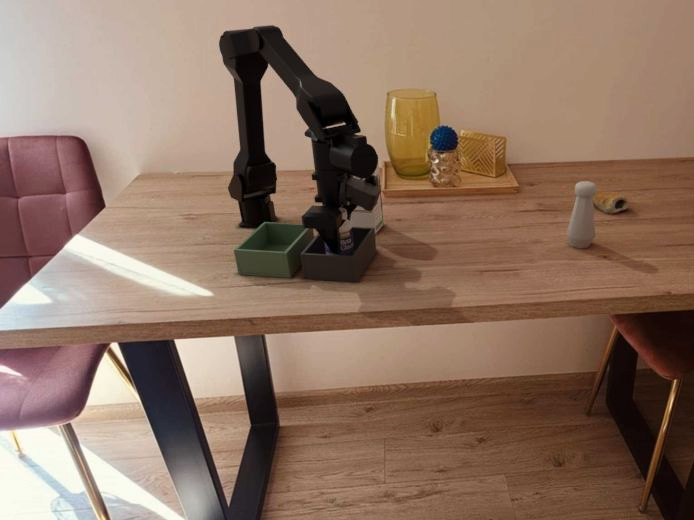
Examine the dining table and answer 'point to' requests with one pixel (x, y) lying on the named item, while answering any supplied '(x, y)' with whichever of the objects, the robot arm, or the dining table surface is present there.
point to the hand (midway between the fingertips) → (339, 246)
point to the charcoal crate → (339, 258)
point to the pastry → (610, 202)
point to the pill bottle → (344, 238)
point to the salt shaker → (582, 216)
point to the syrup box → (369, 212)
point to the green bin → (273, 250)
